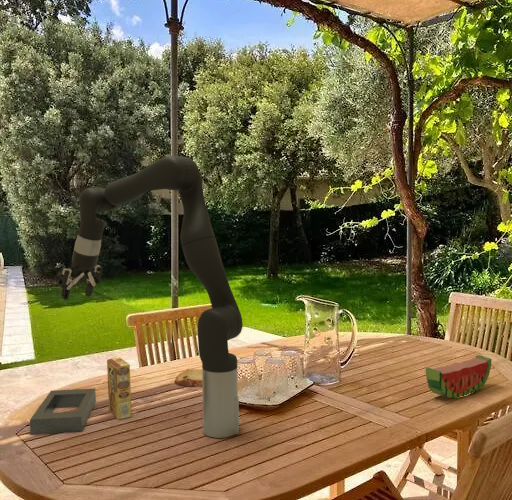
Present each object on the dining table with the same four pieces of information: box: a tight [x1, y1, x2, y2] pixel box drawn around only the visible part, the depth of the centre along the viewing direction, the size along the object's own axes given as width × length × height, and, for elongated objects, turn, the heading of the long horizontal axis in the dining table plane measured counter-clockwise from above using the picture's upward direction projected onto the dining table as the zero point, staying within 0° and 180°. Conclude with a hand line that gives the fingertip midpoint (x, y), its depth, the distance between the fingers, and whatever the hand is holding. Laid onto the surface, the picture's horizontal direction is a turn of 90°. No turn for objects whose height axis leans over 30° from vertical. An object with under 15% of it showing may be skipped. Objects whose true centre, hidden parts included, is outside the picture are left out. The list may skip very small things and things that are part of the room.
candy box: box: [106, 357, 133, 421], centre depth 150 cm, size 9×4×15 cm, turn 33°
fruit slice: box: [425, 355, 492, 399], centre depth 165 cm, size 26×6×10 cm, turn 123°
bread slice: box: [173, 368, 203, 388], centre depth 180 cm, size 18×18×4 cm
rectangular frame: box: [29, 388, 97, 435], centre depth 149 cm, size 13×22×4 cm, turn 8°
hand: (76, 297), depth 166 cm, fingers open, 8 cm apart
